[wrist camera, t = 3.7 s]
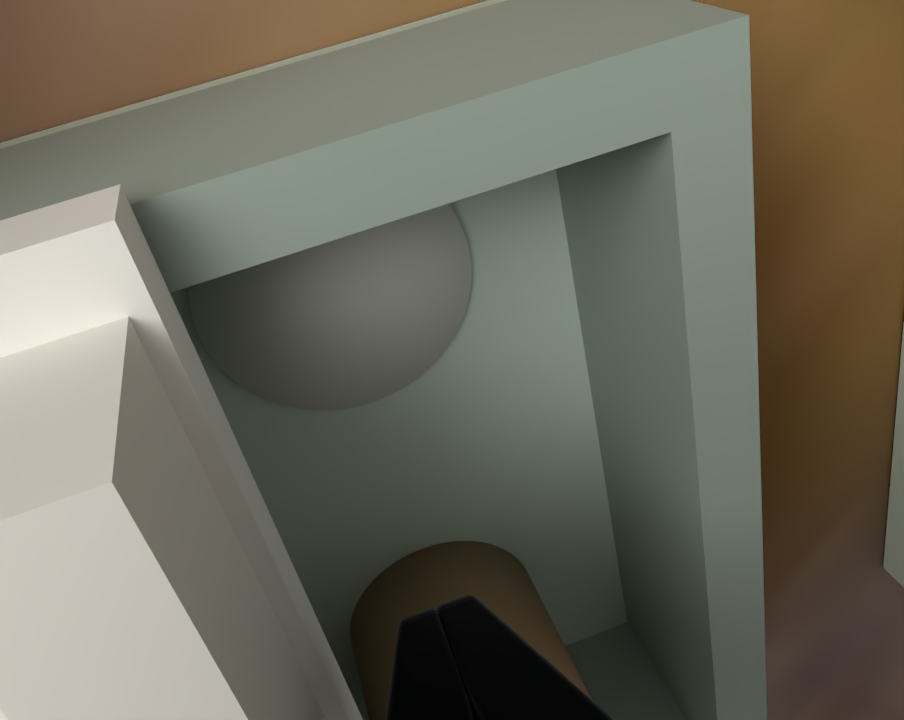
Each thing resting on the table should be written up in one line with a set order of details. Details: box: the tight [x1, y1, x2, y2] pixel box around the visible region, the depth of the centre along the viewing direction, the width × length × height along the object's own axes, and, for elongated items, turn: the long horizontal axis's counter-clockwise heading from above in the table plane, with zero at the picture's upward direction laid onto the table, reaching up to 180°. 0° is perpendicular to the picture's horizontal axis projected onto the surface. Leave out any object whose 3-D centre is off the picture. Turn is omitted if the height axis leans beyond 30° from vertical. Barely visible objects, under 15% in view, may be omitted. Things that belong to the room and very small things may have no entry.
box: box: [0, 0, 767, 720], centre depth 12 cm, size 12×8×4 cm, turn 13°
